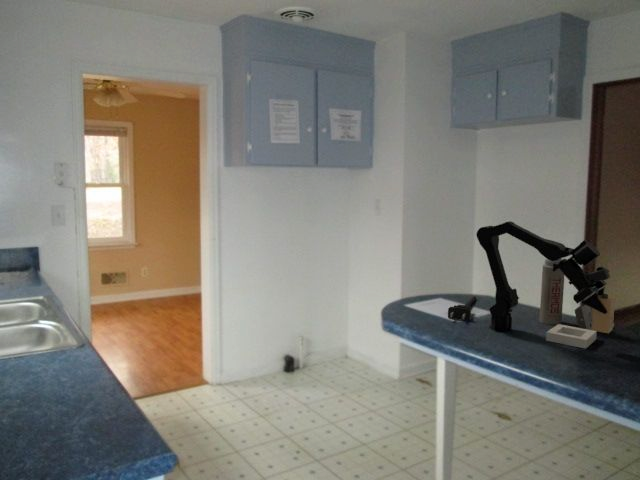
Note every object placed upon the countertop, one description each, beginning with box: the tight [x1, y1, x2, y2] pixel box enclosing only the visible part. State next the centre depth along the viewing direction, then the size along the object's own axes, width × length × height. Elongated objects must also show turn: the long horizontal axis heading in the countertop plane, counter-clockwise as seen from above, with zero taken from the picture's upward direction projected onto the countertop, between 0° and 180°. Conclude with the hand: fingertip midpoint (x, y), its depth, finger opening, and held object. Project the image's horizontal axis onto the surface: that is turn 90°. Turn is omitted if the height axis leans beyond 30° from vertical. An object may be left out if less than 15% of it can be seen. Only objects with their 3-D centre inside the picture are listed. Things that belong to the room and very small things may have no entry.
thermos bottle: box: [539, 258, 565, 326], centre depth 211 cm, size 8×8×28 cm
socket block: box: [545, 324, 598, 350], centre depth 191 cm, size 13×13×3 cm
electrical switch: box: [574, 304, 593, 330], centre depth 204 cm, size 9×5×9 cm, turn 141°
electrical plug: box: [447, 295, 477, 321], centre depth 230 cm, size 9×42×5 cm, turn 155°
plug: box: [592, 293, 616, 334], centre depth 179 cm, size 6×5×12 cm
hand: (608, 311), depth 178 cm, fingers closed on plug, 5 cm apart
